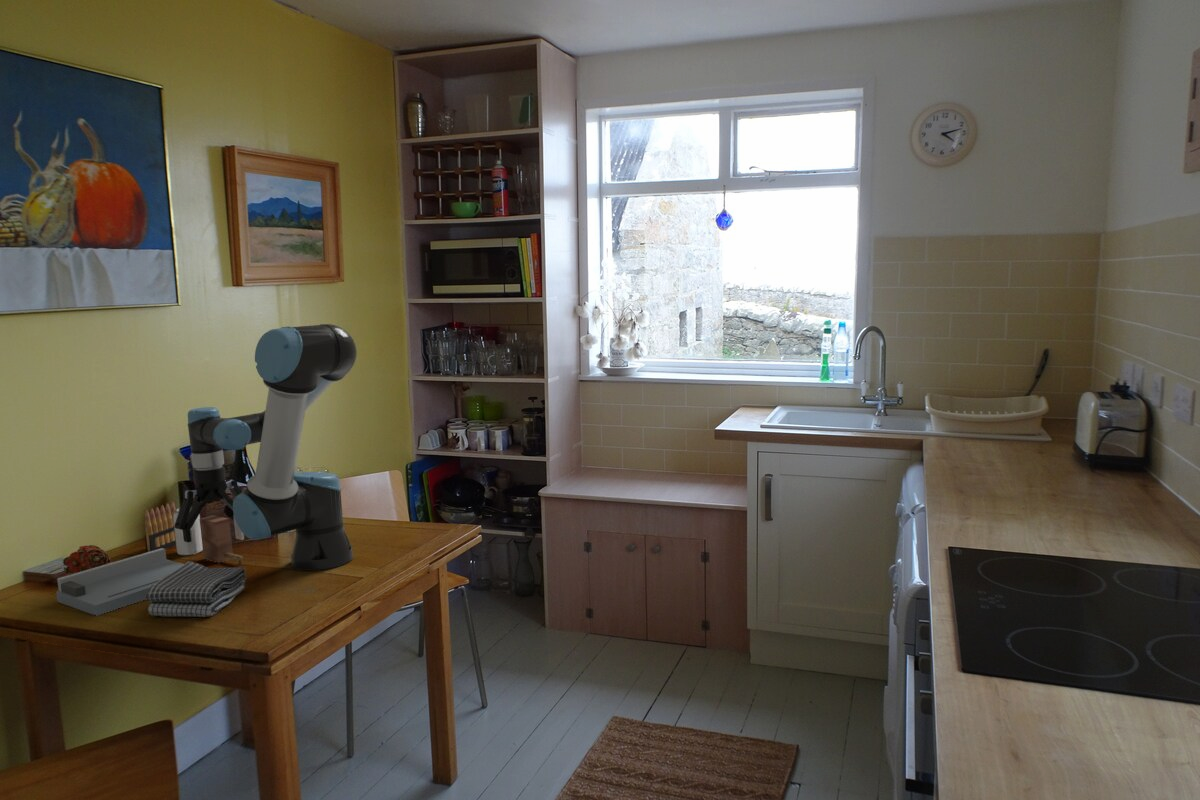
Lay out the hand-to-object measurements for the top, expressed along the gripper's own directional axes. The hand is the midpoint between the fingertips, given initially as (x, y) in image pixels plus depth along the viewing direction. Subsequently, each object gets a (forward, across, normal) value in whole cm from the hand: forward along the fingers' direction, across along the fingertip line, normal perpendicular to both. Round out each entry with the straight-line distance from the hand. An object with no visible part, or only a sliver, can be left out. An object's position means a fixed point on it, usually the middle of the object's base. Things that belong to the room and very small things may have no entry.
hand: (216, 546), depth 228 cm
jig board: (+4, +24, +3) cm, 24 cm away
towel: (+4, +21, +26) cm, 34 cm away
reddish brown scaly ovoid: (+4, +24, -19) cm, 31 cm away
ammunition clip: (+4, +1, -24) cm, 24 cm away
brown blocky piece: (+4, 0, +3) cm, 5 cm away
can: (+4, 0, -13) cm, 13 cm away
